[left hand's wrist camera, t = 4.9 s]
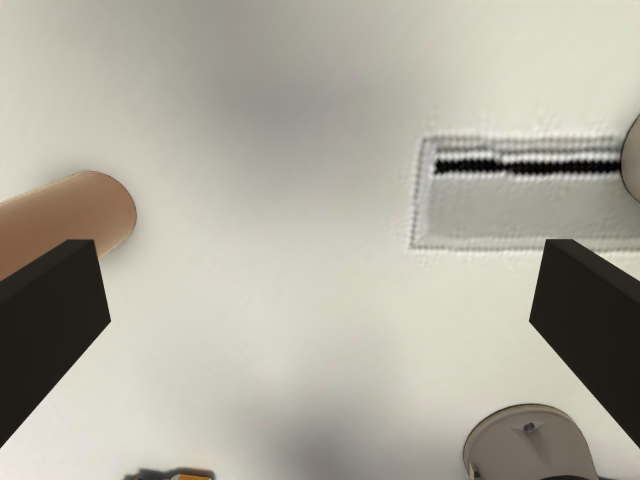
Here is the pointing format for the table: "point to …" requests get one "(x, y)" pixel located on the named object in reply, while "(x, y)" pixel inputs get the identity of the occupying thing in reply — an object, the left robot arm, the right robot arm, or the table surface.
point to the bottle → (64, 218)
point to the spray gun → (185, 477)
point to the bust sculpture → (632, 161)
